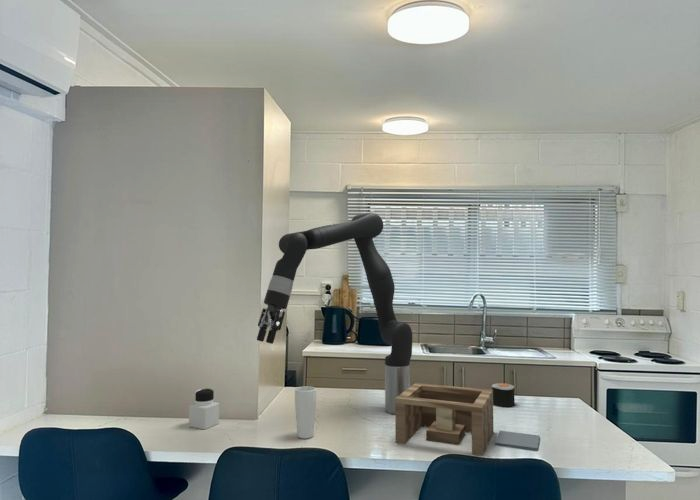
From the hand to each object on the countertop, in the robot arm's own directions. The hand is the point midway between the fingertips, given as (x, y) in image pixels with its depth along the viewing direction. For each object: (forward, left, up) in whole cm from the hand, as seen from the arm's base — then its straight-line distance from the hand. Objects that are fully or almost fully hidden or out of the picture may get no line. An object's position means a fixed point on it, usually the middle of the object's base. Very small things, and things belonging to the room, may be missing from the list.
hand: (264, 342), depth 155 cm
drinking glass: (-8, +10, -30) cm, 33 cm away
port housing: (-25, +51, -30) cm, 65 cm away
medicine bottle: (-4, -27, -30) cm, 41 cm away
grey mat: (-30, +72, -30) cm, 84 cm away
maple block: (-25, +51, -27) cm, 63 cm away
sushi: (-71, +63, -30) cm, 100 cm away
